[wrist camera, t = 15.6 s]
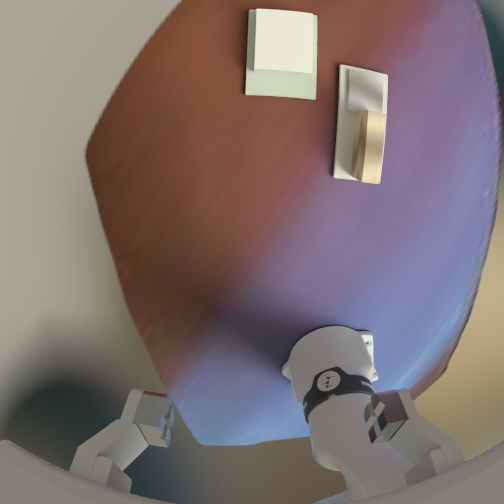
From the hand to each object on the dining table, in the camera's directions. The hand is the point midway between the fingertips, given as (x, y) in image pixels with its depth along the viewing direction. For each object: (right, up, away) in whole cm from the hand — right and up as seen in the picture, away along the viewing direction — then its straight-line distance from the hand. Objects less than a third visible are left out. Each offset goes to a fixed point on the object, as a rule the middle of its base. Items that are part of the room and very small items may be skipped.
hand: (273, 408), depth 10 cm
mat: (+3, +32, +19) cm, 37 cm away
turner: (+14, +23, +23) cm, 35 cm away
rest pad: (+14, +23, +23) cm, 36 cm away
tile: (+3, +28, +19) cm, 34 cm away
